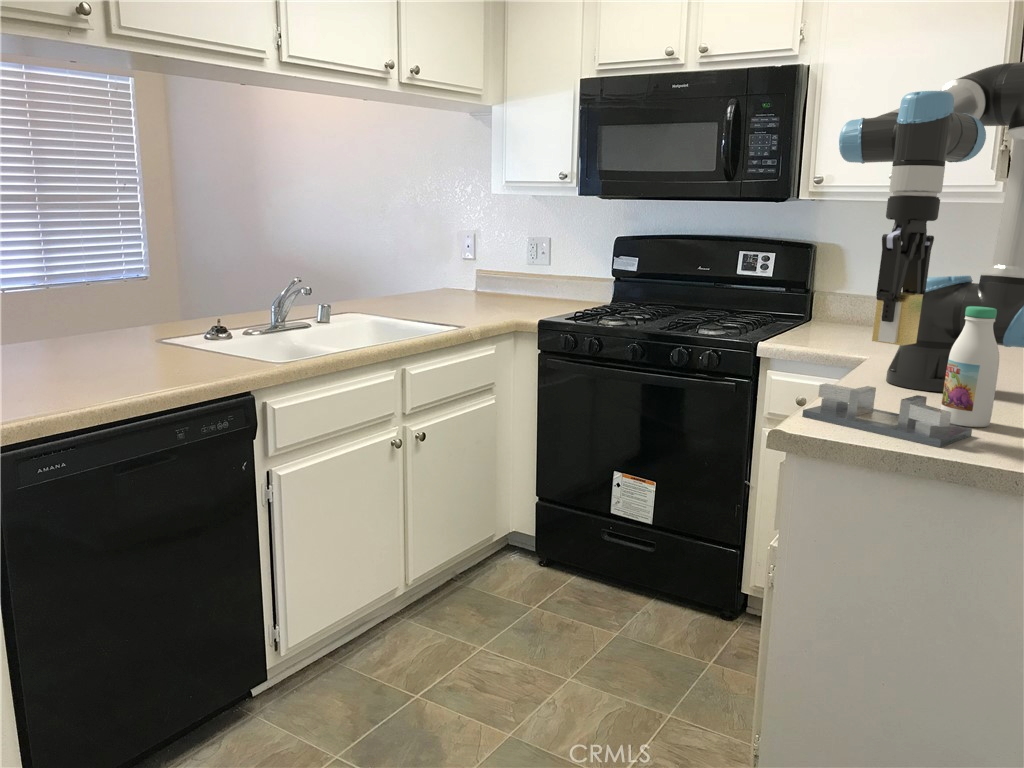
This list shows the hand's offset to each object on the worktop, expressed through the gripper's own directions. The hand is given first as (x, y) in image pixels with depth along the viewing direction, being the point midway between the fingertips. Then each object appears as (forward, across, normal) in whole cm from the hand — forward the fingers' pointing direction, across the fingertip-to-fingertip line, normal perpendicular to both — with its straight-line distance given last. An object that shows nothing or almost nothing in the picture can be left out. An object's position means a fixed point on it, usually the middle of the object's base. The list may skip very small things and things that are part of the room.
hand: (895, 340), depth 135 cm
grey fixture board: (+14, 0, 0) cm, 14 cm away
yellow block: (0, 0, 0) cm, 0 cm away
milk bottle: (+15, -15, +7) cm, 22 cm away
